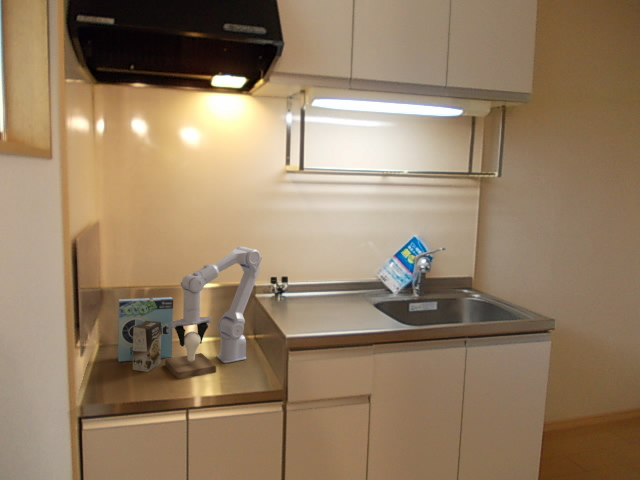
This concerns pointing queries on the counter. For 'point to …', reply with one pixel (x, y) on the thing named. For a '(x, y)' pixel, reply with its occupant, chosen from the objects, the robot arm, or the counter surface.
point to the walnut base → (190, 366)
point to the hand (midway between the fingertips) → (190, 344)
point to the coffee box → (146, 346)
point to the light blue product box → (137, 313)
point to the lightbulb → (191, 344)
